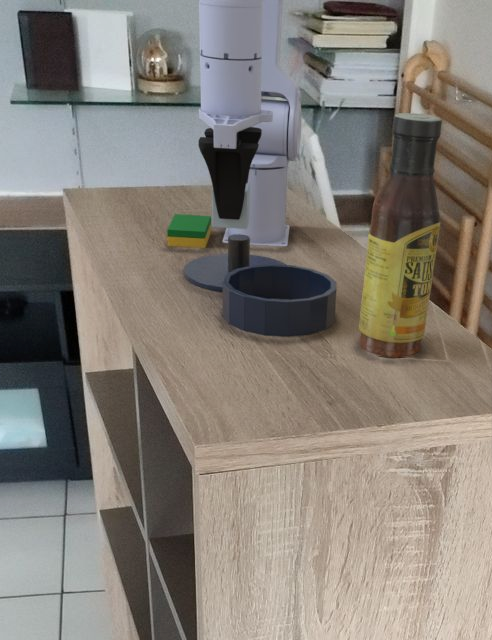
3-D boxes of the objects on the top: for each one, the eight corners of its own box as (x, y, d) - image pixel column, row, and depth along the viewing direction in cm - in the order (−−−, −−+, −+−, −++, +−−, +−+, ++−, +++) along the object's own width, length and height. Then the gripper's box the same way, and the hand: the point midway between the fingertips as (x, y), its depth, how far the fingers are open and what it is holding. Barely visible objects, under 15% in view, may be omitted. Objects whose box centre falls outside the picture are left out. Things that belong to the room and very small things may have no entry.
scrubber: (175, 234, 113) (174, 213, 111) (211, 236, 113) (211, 216, 112) (168, 250, 107) (167, 229, 106) (205, 252, 108) (205, 231, 106)
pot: (228, 299, 95) (228, 261, 93) (333, 305, 95) (336, 267, 93) (218, 338, 86) (218, 297, 84) (334, 344, 87) (337, 304, 84)
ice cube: (215, 217, 93) (215, 181, 91) (249, 219, 93) (249, 183, 91) (212, 227, 90) (211, 189, 88) (247, 229, 90) (247, 191, 88)
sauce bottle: (403, 368, 83) (433, 126, 70) (345, 351, 85) (364, 115, 73) (433, 347, 87) (467, 116, 75) (377, 332, 90) (400, 106, 77)
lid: (190, 260, 105) (189, 219, 102) (294, 266, 105) (296, 225, 102) (177, 295, 95) (175, 250, 92) (291, 301, 95) (293, 257, 93)
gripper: (270, 69, 77) (267, 235, 85) (277, 48, 88) (273, 197, 97) (188, 64, 77) (193, 231, 85) (205, 44, 88) (208, 193, 97)
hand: (231, 213), depth 91 cm, fingers closed on ice cube, 3 cm apart
